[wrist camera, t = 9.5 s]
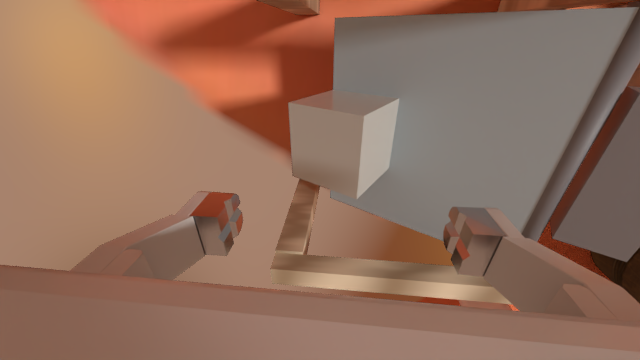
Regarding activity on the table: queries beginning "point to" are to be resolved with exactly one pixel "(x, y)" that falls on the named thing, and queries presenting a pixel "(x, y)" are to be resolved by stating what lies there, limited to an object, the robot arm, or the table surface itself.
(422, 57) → the trapdoor
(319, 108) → the block
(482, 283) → the frame
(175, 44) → the table surface
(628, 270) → the wooden container
